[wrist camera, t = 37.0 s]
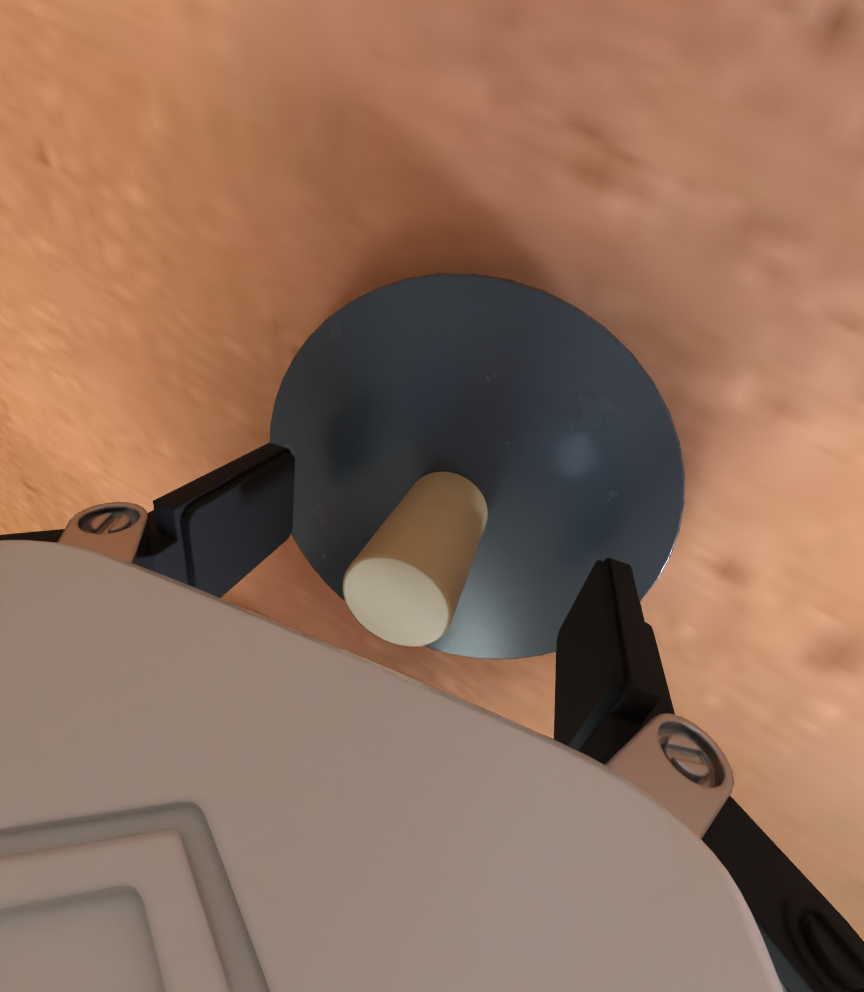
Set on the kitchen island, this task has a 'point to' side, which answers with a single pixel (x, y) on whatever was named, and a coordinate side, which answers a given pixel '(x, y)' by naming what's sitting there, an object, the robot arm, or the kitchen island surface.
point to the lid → (474, 462)
